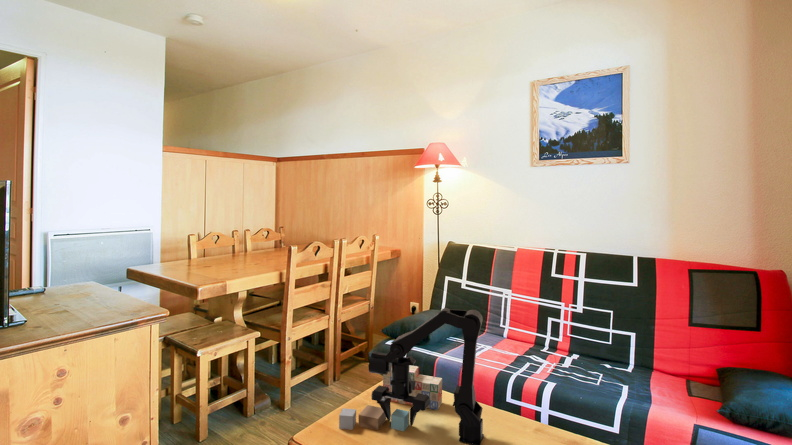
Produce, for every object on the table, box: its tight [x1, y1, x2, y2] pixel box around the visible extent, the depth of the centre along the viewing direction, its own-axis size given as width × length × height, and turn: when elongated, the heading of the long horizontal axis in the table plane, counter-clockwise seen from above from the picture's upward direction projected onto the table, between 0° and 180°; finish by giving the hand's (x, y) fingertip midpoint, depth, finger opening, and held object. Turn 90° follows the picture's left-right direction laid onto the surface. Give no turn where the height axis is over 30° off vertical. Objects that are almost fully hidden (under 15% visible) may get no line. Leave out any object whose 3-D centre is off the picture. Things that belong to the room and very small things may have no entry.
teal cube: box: [390, 408, 410, 432], centre depth 130 cm, size 4×4×4 cm
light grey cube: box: [338, 408, 357, 431], centre depth 131 cm, size 4×4×4 cm
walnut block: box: [358, 404, 387, 431], centre depth 132 cm, size 7×7×4 cm
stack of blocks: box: [382, 365, 443, 411], centre depth 147 cm, size 21×6×12 cm, turn 69°
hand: (400, 423), depth 130 cm, fingers open, 8 cm apart
